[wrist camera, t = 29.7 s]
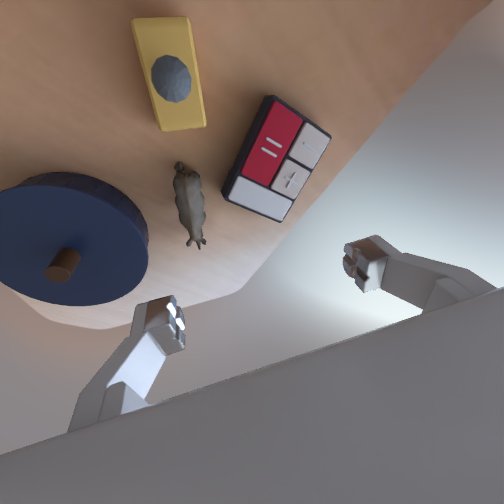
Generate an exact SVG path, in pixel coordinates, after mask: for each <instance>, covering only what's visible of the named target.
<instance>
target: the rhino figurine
mask: <svg viewBox="0 0 504 504" xmlns="http://www.w3.org/2000/svg"><path fill="white" fill-rule="evenodd" d="M174 169H175V170H176V171H177V172H176V175H175V177H174V180H173V186H174V190H175V193H176V197H175V203H176V206H177V208H178V211H179V219H180V221H181V223H182V224H183V225H184V227H185V228H187V230H188V232H189V235H190V239H189V240H188V241H187V243H186V244H187V246H190V245H191V244H192V241H196V243H197V245H198V248H199V250H200V242H202V244H204V245H206V240H205V239H203V238H202V237H203V233H202V225H203V223H204V221H205V219H206V215H205V212H204V211H203V210H204V196H203V194H202V192H201V181H200V179H199V178H200V175H199V174H198V173H197V172H195V171H193V172H192V173H190V174H188V175H187V173H185V172H183V171H184V165H183V163H182V162H177V163H176V164H175V166H174Z"/></svg>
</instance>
